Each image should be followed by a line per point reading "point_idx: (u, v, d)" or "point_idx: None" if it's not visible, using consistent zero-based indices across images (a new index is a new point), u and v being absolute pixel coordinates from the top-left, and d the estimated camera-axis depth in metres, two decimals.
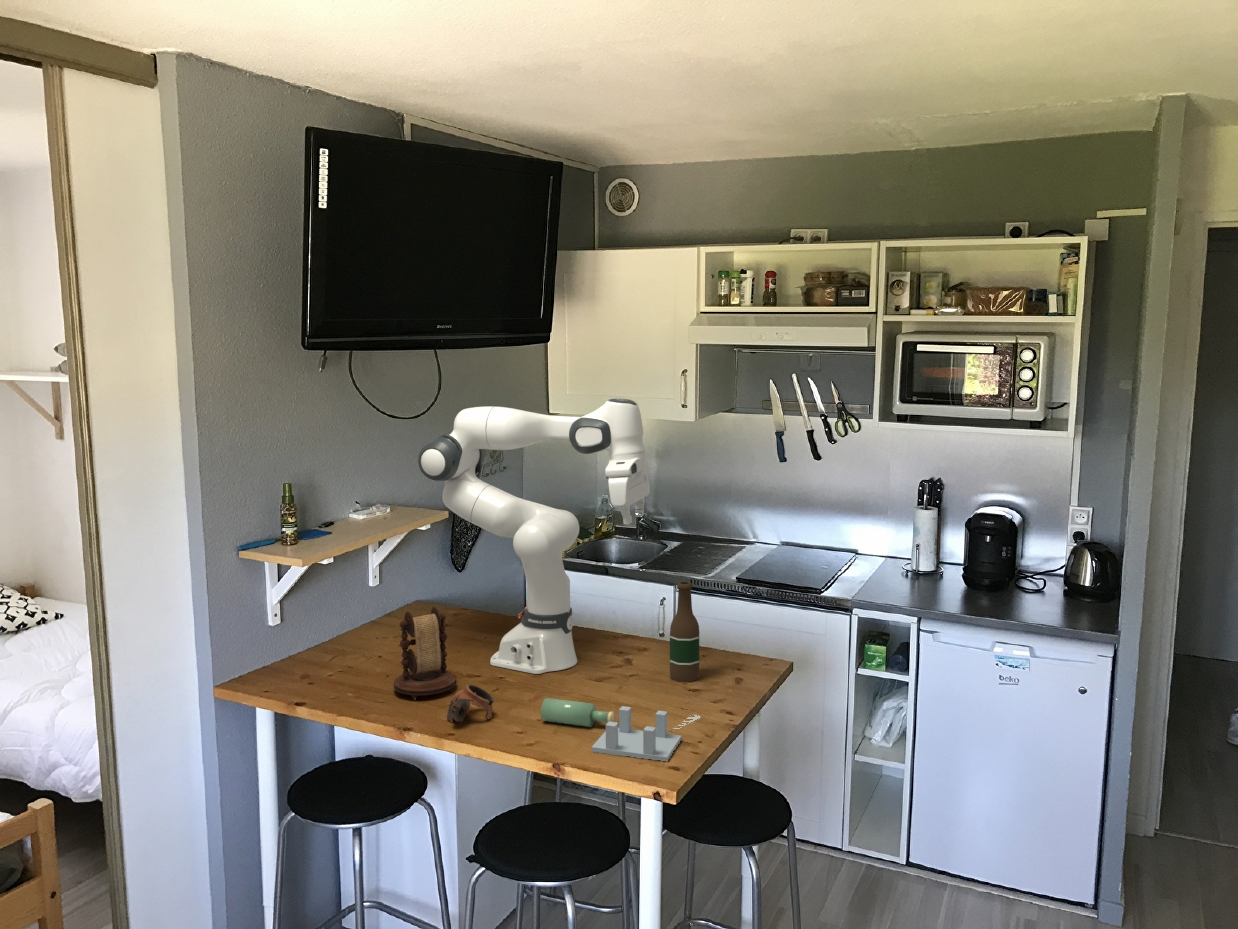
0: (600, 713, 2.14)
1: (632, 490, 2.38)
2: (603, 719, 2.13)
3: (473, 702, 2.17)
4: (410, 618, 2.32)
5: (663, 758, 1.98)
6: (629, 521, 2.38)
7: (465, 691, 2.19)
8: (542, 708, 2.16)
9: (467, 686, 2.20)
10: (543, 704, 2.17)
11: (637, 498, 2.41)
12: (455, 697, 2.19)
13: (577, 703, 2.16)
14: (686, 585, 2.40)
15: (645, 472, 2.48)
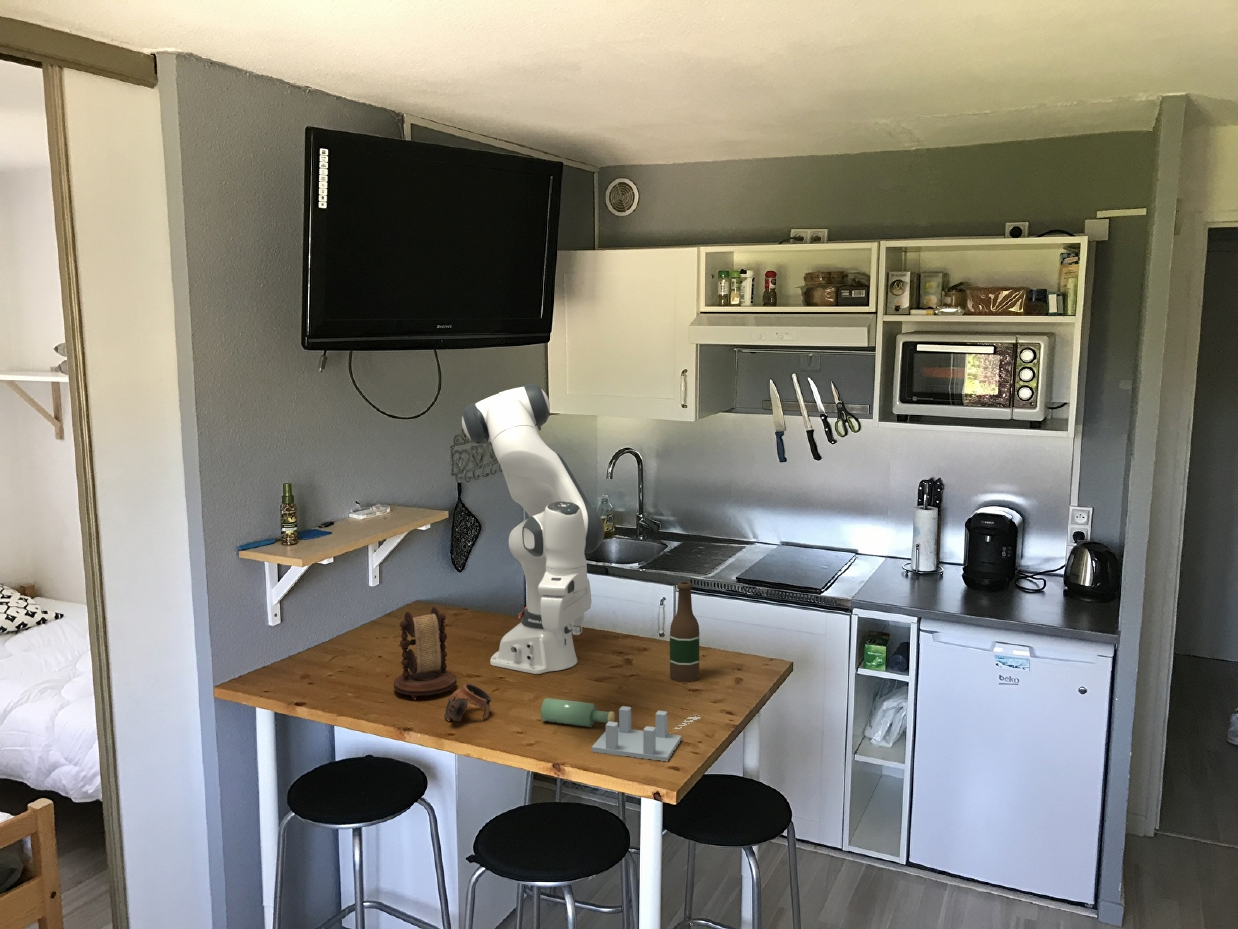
0: (600, 713, 2.14)
1: (568, 610, 2.09)
2: (603, 719, 2.13)
3: (471, 701, 2.17)
4: (410, 618, 2.32)
5: (663, 758, 1.98)
6: (562, 644, 2.09)
7: (463, 690, 2.19)
8: (542, 708, 2.16)
9: (464, 685, 2.20)
10: (543, 704, 2.17)
11: (574, 617, 2.12)
12: (453, 696, 2.19)
13: (577, 703, 2.16)
14: (686, 585, 2.40)
15: (587, 584, 2.20)
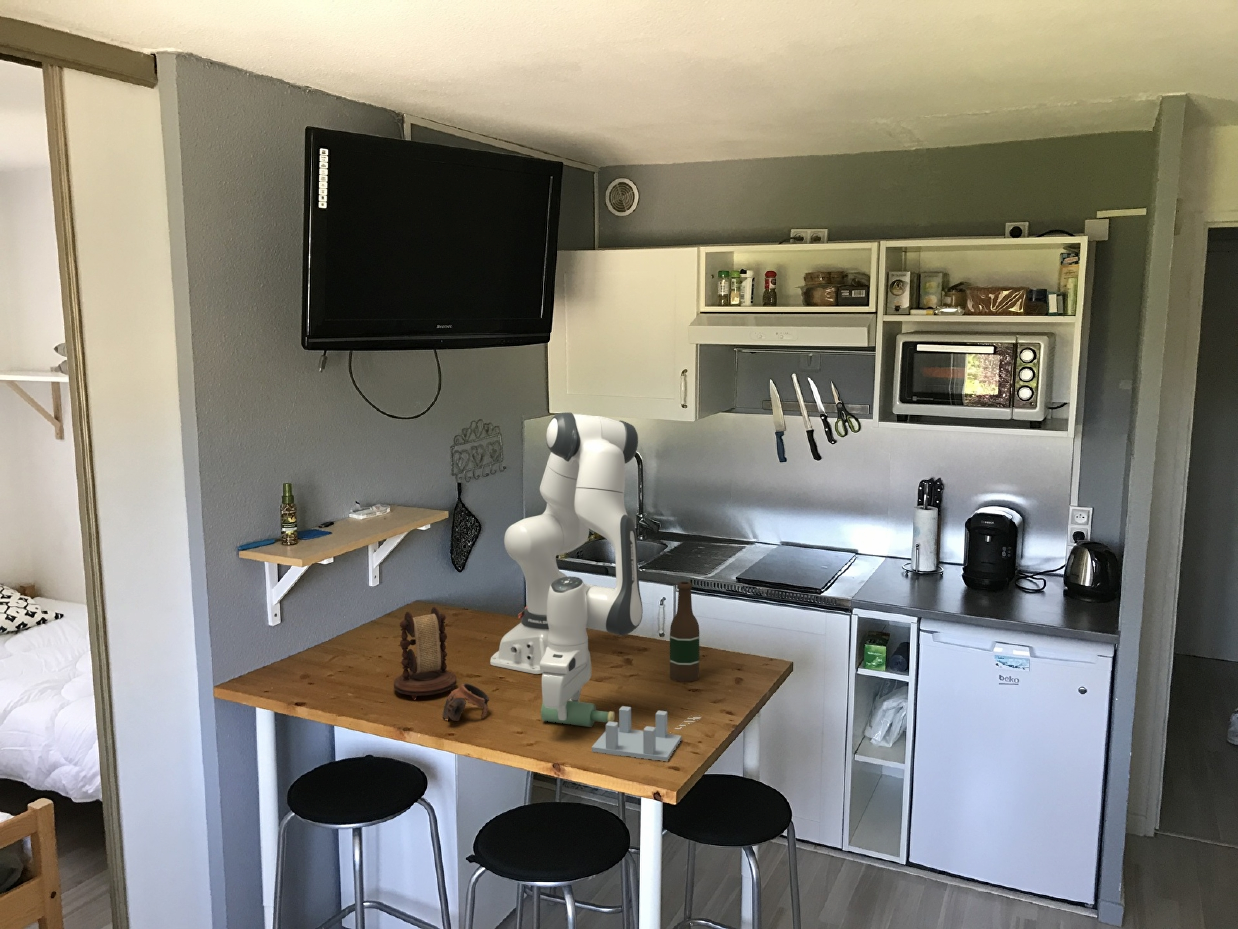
0: (600, 713, 2.14)
1: (568, 686, 2.11)
2: (603, 719, 2.13)
3: (469, 701, 2.17)
4: (410, 618, 2.32)
5: (663, 758, 1.98)
6: (564, 717, 2.13)
7: (461, 690, 2.19)
8: (542, 708, 2.16)
9: (462, 685, 2.21)
10: (543, 704, 2.17)
11: (574, 692, 2.15)
12: (451, 696, 2.19)
13: (577, 703, 2.16)
14: (686, 585, 2.40)
15: None
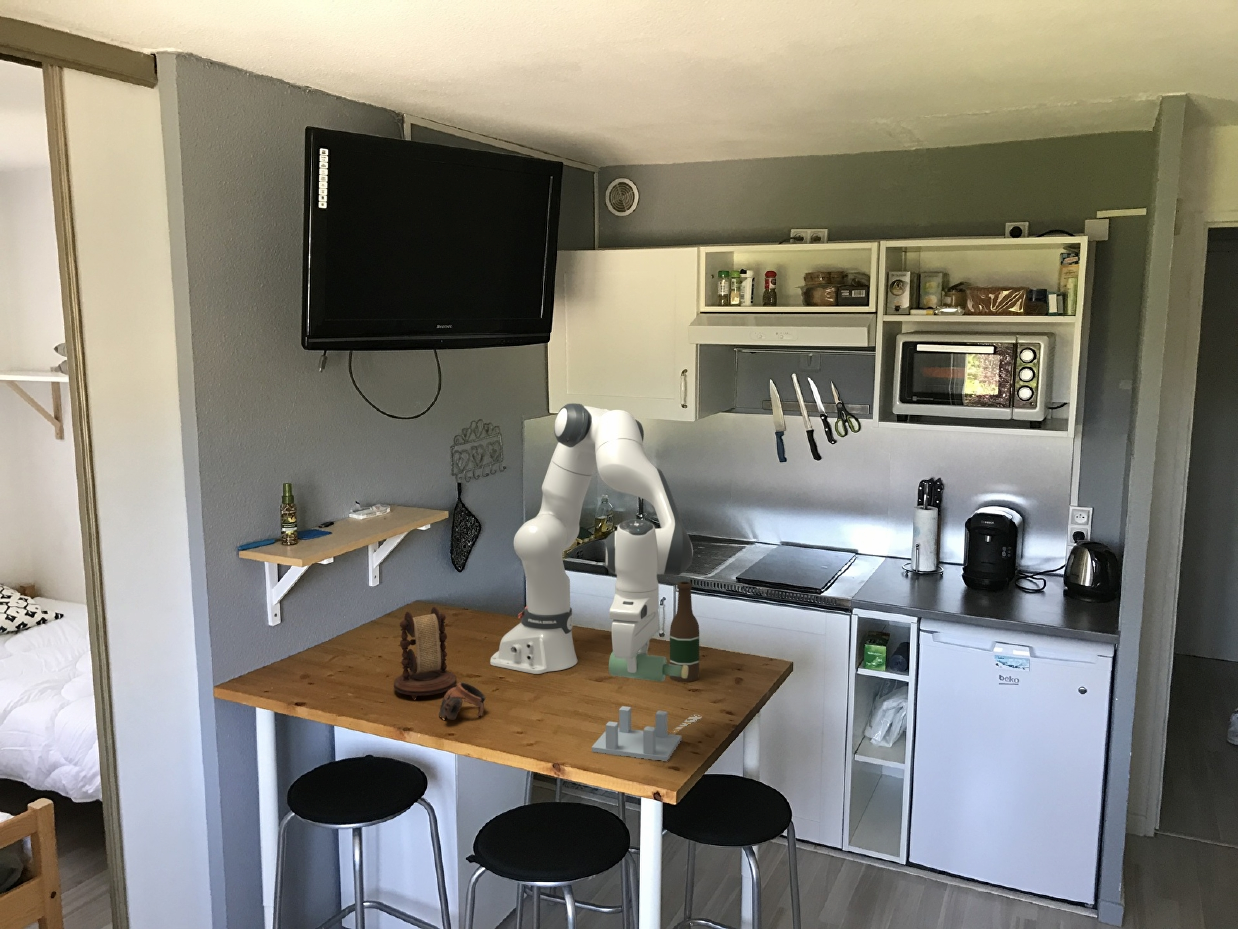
0: (673, 666, 2.00)
1: (639, 635, 1.97)
2: (676, 673, 1.99)
3: (465, 700, 2.18)
4: (410, 618, 2.32)
5: (663, 758, 1.98)
6: (634, 669, 1.99)
7: (457, 689, 2.20)
8: (610, 661, 2.02)
9: (459, 684, 2.21)
10: (611, 657, 2.03)
11: (644, 643, 2.00)
12: (447, 695, 2.20)
13: (648, 656, 2.01)
14: (686, 585, 2.40)
15: None
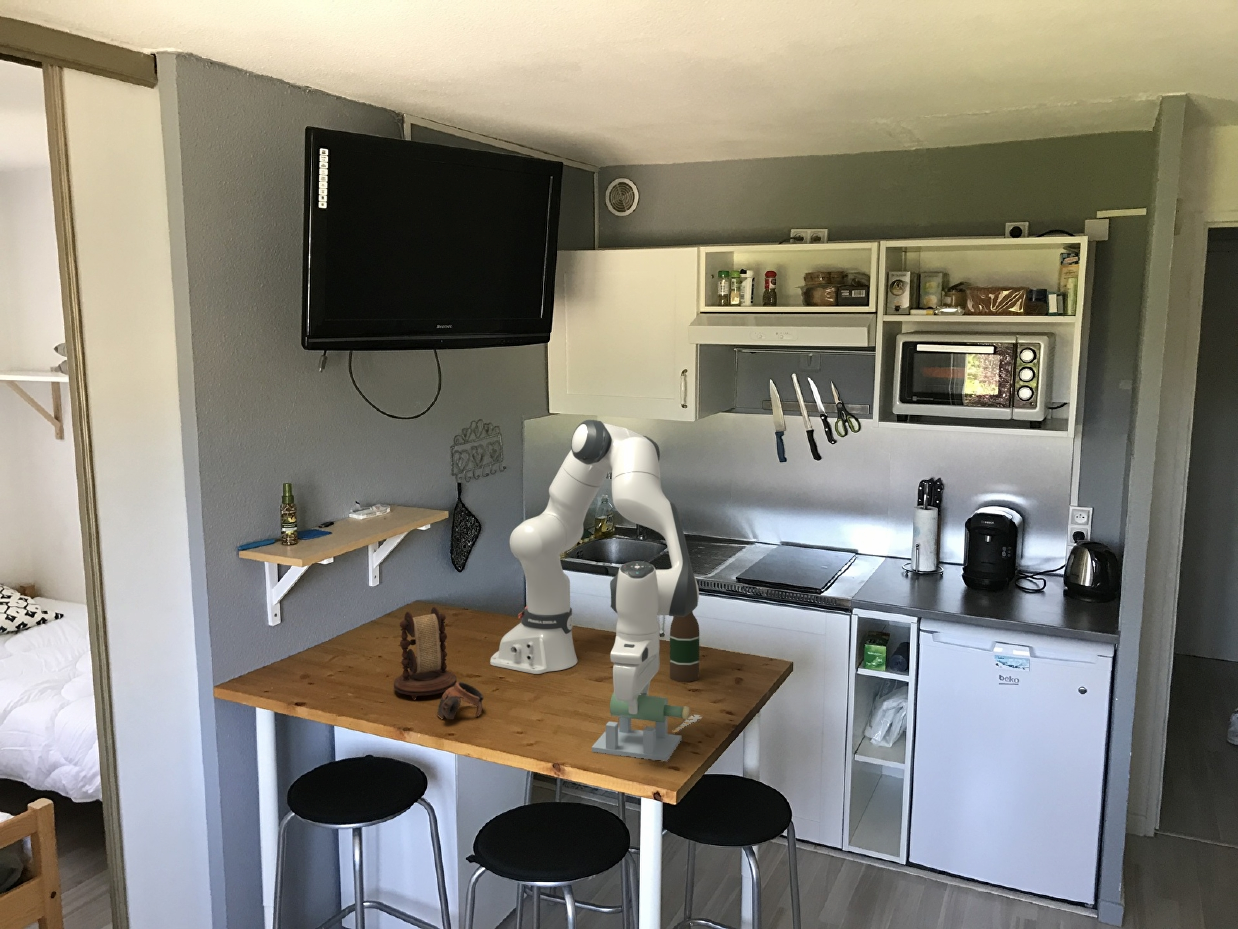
0: (674, 707, 2.01)
1: (640, 677, 1.98)
2: (677, 714, 2.00)
3: (464, 699, 2.18)
4: (410, 618, 2.32)
5: (663, 758, 1.98)
6: (635, 711, 2.00)
7: (455, 688, 2.20)
8: (611, 702, 2.03)
9: (457, 683, 2.22)
10: (612, 698, 2.04)
11: (645, 684, 2.02)
12: (445, 694, 2.20)
13: (649, 697, 2.03)
14: None
15: None
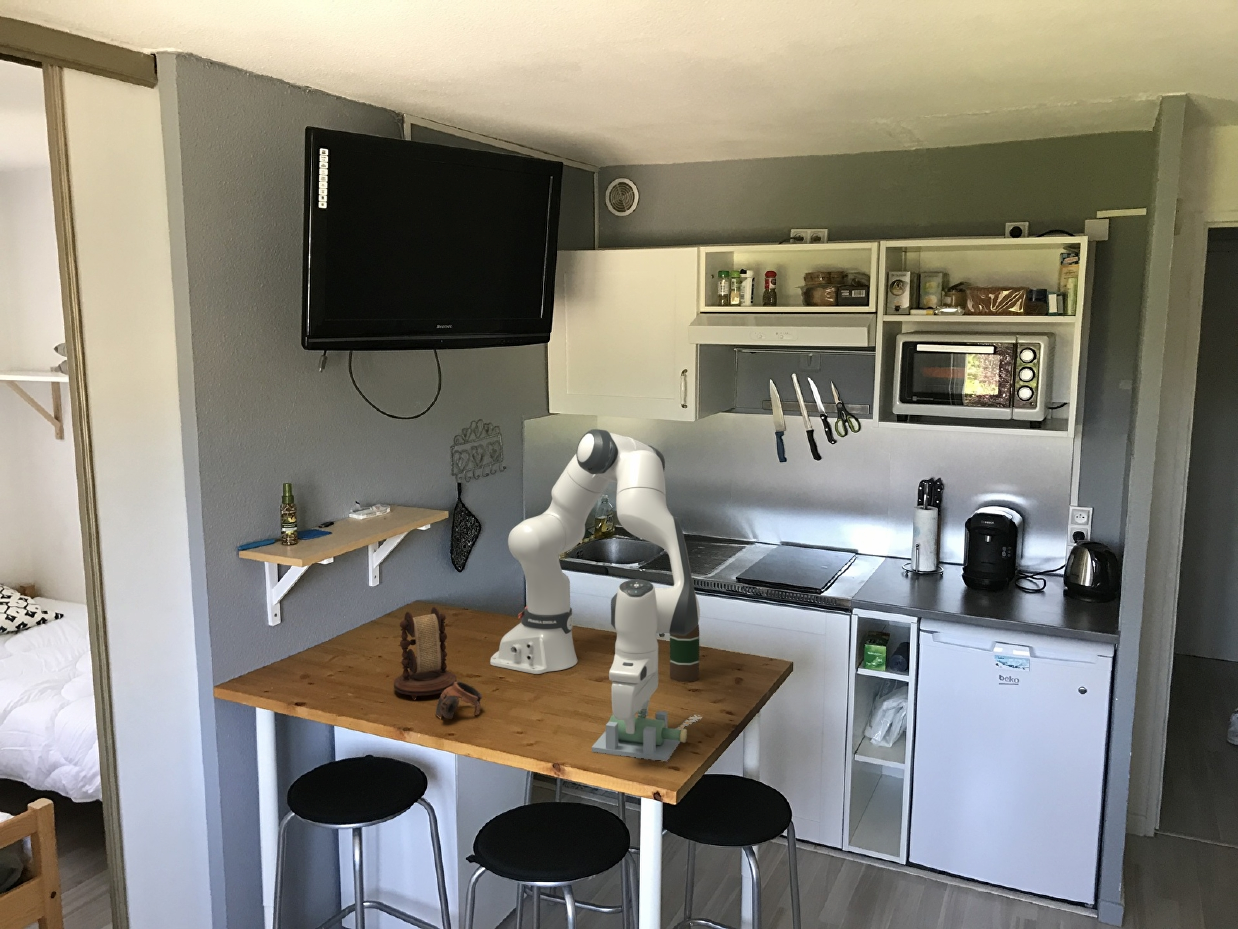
0: (672, 730, 2.02)
1: (639, 696, 1.99)
2: (675, 737, 2.01)
3: (462, 698, 2.19)
4: (410, 618, 2.32)
5: (663, 758, 1.98)
6: (632, 731, 2.00)
7: (454, 688, 2.21)
8: None
9: (455, 683, 2.22)
10: (610, 721, 2.04)
11: (643, 702, 2.02)
12: (444, 694, 2.20)
13: (647, 720, 2.03)
14: None
15: None
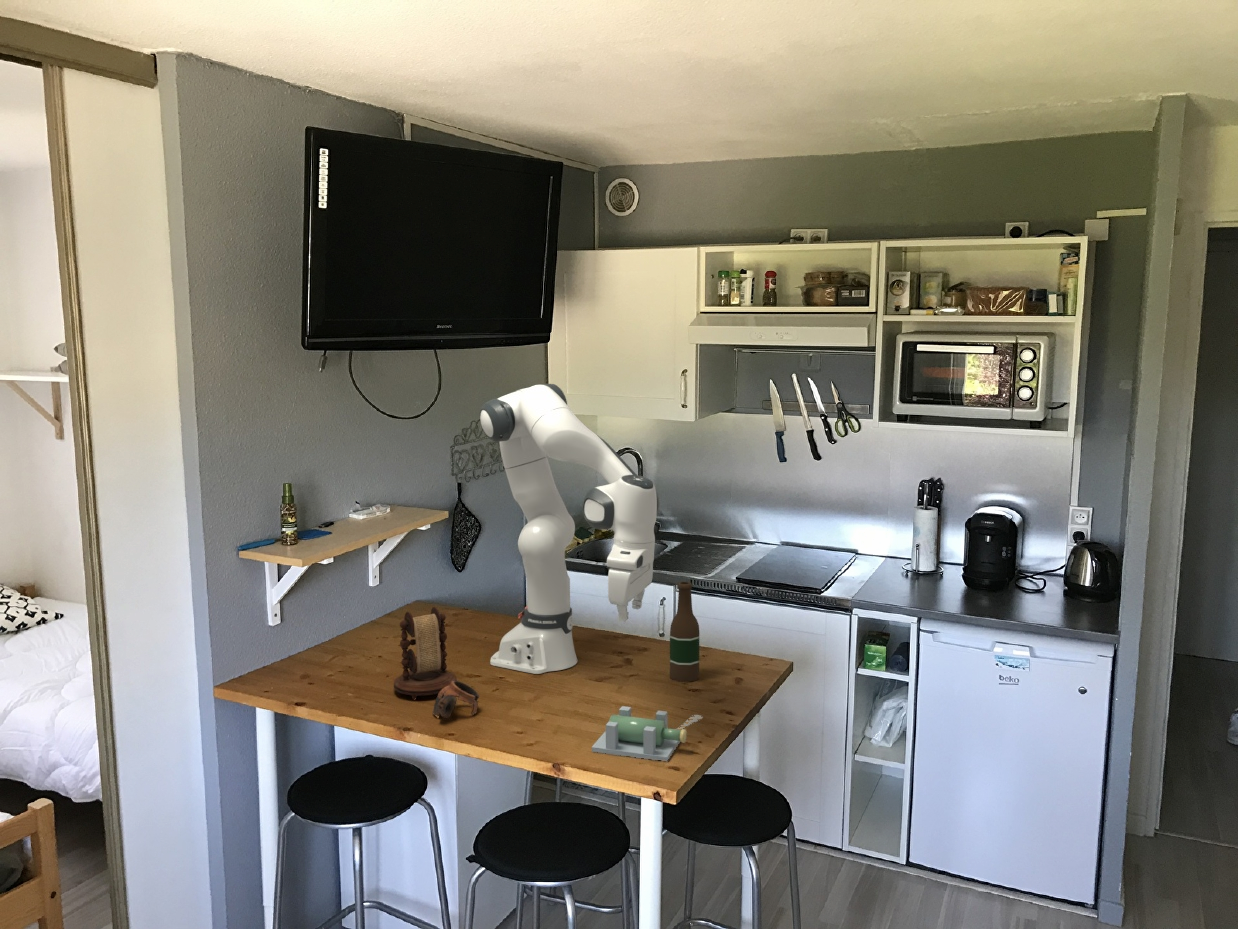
0: (671, 731, 2.01)
1: (634, 584, 2.08)
2: (675, 738, 2.01)
3: (459, 698, 2.19)
4: (410, 618, 2.32)
5: (663, 758, 1.98)
6: (625, 618, 2.08)
7: (451, 687, 2.21)
8: None
9: (453, 682, 2.22)
10: None
11: (638, 592, 2.11)
12: (441, 693, 2.21)
13: (646, 721, 2.03)
14: (686, 585, 2.40)
15: None
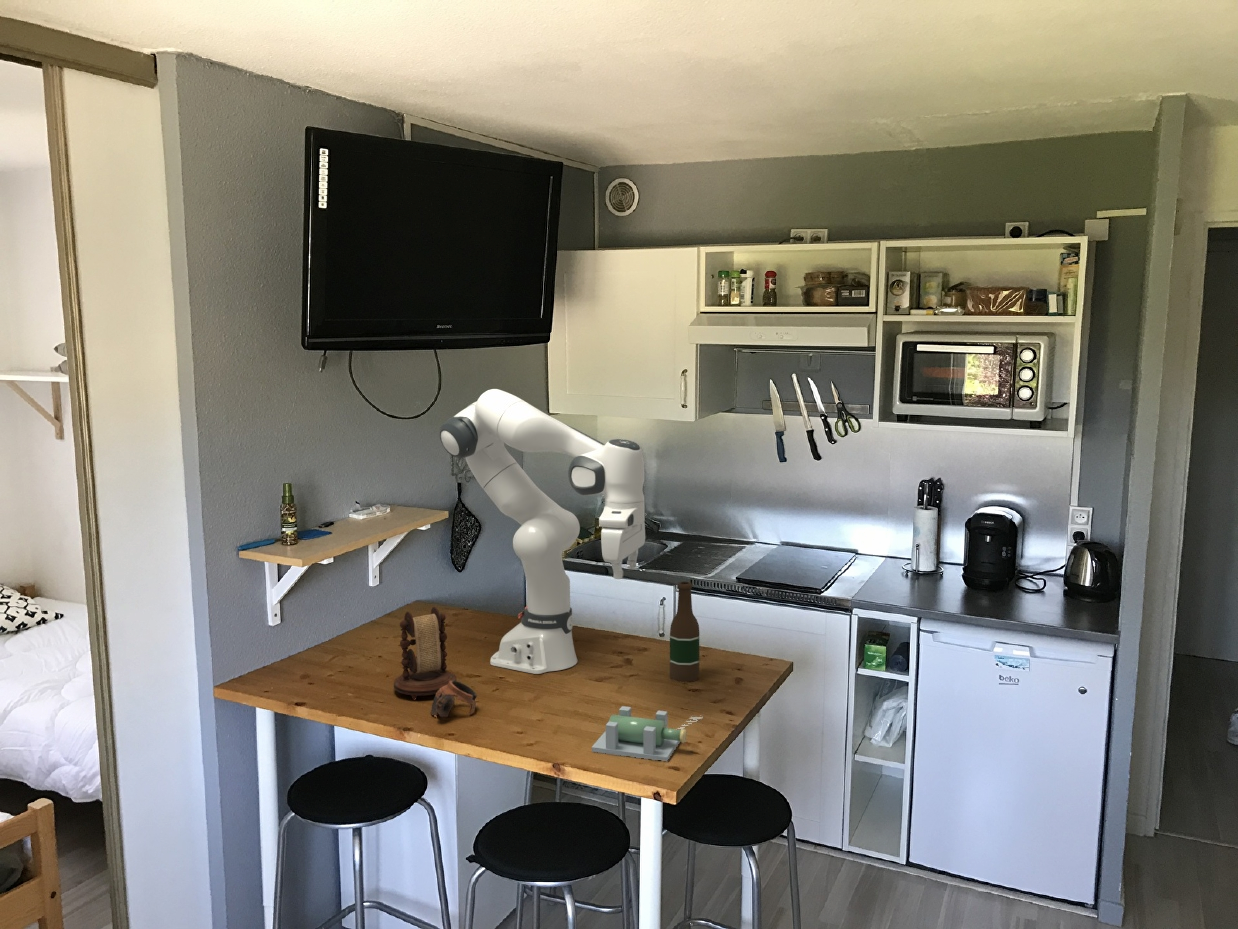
0: (671, 731, 2.01)
1: (626, 542, 2.17)
2: (675, 738, 2.01)
3: (457, 697, 2.20)
4: (410, 618, 2.32)
5: (663, 758, 1.98)
6: (620, 576, 2.17)
7: (449, 687, 2.21)
8: None
9: (450, 682, 2.23)
10: None
11: (631, 551, 2.20)
12: (439, 693, 2.21)
13: (646, 721, 2.03)
14: (686, 585, 2.40)
15: None
